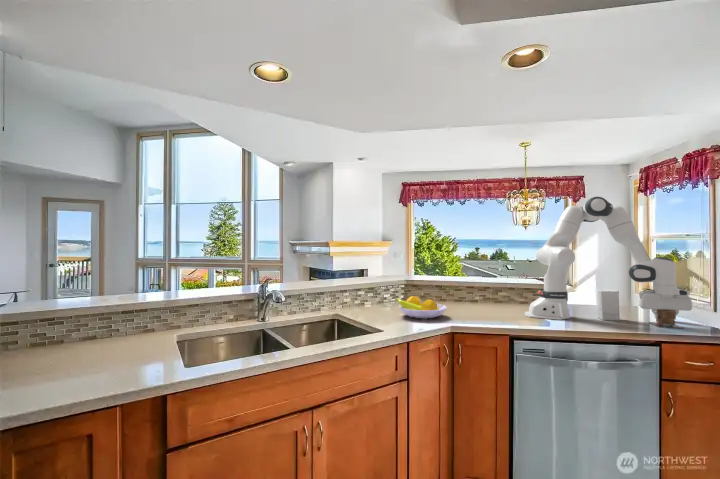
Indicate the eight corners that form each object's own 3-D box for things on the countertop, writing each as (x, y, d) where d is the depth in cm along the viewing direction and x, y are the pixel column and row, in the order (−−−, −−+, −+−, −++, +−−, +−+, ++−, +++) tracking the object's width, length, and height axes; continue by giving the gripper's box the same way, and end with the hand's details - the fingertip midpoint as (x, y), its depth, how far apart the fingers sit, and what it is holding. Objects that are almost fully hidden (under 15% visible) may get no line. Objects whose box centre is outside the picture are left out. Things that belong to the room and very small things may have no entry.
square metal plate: (658, 327, 169) (658, 314, 169) (648, 322, 178) (648, 311, 178) (683, 328, 166) (683, 316, 166) (672, 323, 175) (672, 312, 175)
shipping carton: (661, 323, 170) (661, 310, 170) (656, 321, 175) (655, 308, 175) (674, 324, 169) (674, 310, 169) (668, 322, 174) (668, 308, 174)
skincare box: (615, 318, 189) (614, 289, 189) (620, 321, 182) (619, 291, 183) (597, 317, 191) (596, 289, 191) (601, 320, 185) (601, 290, 185)
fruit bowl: (442, 312, 211) (442, 293, 211) (449, 322, 184) (449, 300, 184) (395, 311, 214) (395, 293, 214) (395, 321, 187) (395, 300, 187)
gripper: (642, 290, 172) (642, 318, 172) (694, 292, 166) (694, 321, 166) (636, 289, 178) (637, 316, 178) (686, 290, 172) (686, 318, 172)
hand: (665, 318), depth 172 cm, fingers closed on shipping carton, 5 cm apart
